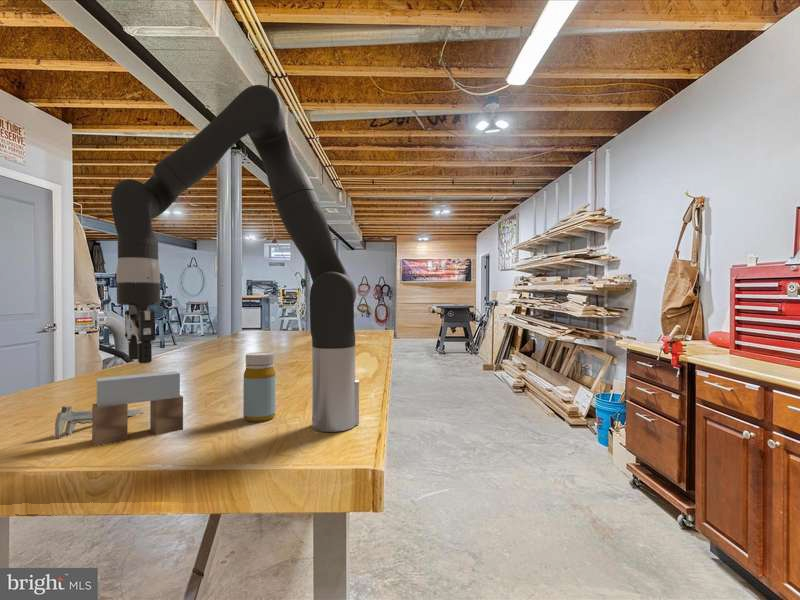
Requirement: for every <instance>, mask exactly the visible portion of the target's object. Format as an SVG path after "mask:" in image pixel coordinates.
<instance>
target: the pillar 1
mask: <svg viewBox="0 0 800 600" xmlns="http://www.w3.org/2000/svg"><path fill="white" fill-rule="evenodd" d="M91 407H92V423H91V427H92V429H91V433H92V435H91V441H92V440H93V441H92V442H93V444H94V446H95V447H99V446H98V445H101V446H104V445H103V444H106V445H109V444H108V443H111V444H115V443H114V442H116V443H120V441H122V442H125V441H126V440H127V441H128V434H129V433H128V430H129V429H128V427H129V426H128V423H129V421H128V417H129V416H128V410H129V409H128V404H122V405H114V406H106V407H97V403H93V404H92V405H91Z"/></svg>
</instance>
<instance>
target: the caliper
mask: <svg viewBox="0 0 800 600" xmlns="http://www.w3.org/2000/svg"><path fill="white" fill-rule="evenodd" d="M144 412H145V411H144V410H142V409H140V408H133V409H128V417H134V415H136V416H138V415H137V414H139V415H141V414H145V413H144ZM66 422H67V423H66ZM77 424H82V425H83V424H84V425H85V424H92V410H91V409H89V410H73V406H69V405H68V406H62V407H61V411H60V412H57V415H56V419H55V422H54V437H55V438H57V439H62V437H63V433H64V435H66V436H65V437H69V436H68V435H70V436H71V435H72V433H73V431H74V429H75V427H76V425H77Z"/></svg>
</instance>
